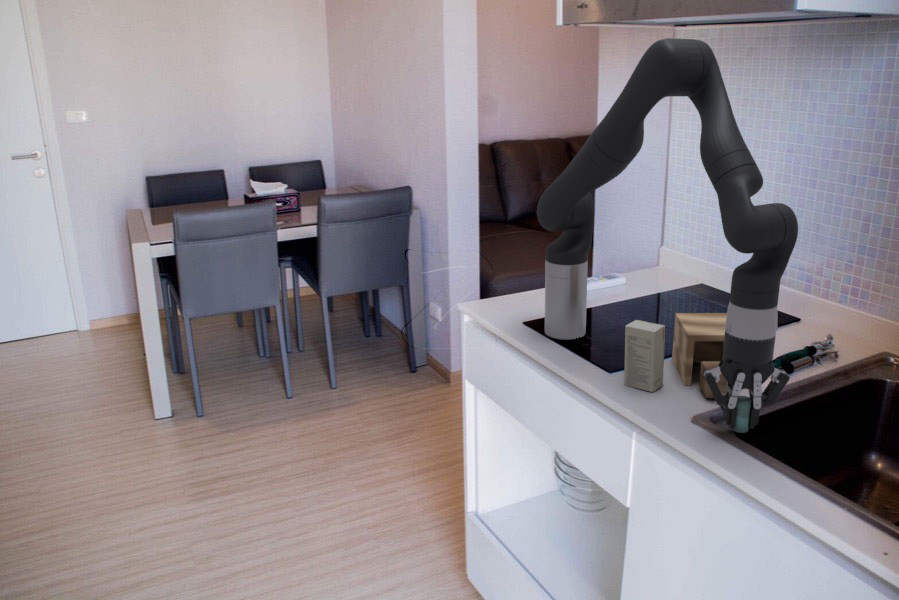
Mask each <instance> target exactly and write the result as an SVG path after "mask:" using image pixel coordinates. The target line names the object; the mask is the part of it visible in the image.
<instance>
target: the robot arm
mask: <svg viewBox="0 0 899 600" xmlns="http://www.w3.org/2000/svg"><path fill="white" fill-rule="evenodd" d="M724 82H725V81H724V79H723V77H722V72H721V69H720V66H719V63H718V61H717V58H716V55H715V53H714V51H713V49H712V47H711V46H710V45H709V44H708V43H707V42H705V41H704V40H700V39H692V38H663V39H659V40H657V41H655V42H654V43H652V44H651V45H650V46H649V47H648V48H647V49H646V50H645V52H644V53H643V55H642V56H641V58H640V60H639V61H638V63H637V65H636V66H635V68H634V70H633V71H632V74H631V75H630V77H629V79H628V81H627V82H626V84H625V86H624V88H623V89H622V91H621V92H620V94H619V96H618V97H617V98H616V100H615V102H614V103H613V104H612V106H611V107H610V109H609V110H608V111H607V113H606V114H605V115H604V117H603V118H602V120H601V121H600V122H599V123H598V125H597V126H596V127H595V129H594V130H593V131H592V133H591V134H590V135H589V136H588V138H587V139H586V141H585V143H584V144H583V145H582V147H581V148H580V150H579V151H578V152H577V153H576V155H575V156H574V157H573V159H572V160H571V161H570V163H568V165H567V166H566V168H564V170H563V171H562V173H561V174H559V176H557V178H555V180H554V181H553V182H551V184H550V185H549V186H548V187H547V188H546V189H545V190H544V191H543V193H542V194H541V195H540V197H539V200H538V203H537V208H536V216H537V221H538V222H539V224H540V226H541V227H542V228H543V229H545V230H547V231H550V232H562V233H561V234H560V236H558V237H557V239H555V240H554V241H552V242H551V243H549V244H548V245H547V246H546V248H545V253H544V254H545V257H544V258H545V260H544V261H545V262H544V263H545V264H544V266H545V267H544V275H545V276H544V277H545V278H544V281H545V282H544V334H545V335H546V336H548V337H550V338H553V339H556V340H565V341H566V340H567V341H569V340H576V338H577V339H579V337H580V338H582V337H584V336H585V335H586V333H587V332H586V331H587V330H586V327H587V306H588V305H587V302H588V301H587V299H588V267H589V265H588V263H589V252H590V251H591V248H592V243H593V229H594V218H595V205H594V204H595V203H594V199H593V198H594V197H593V196H592V192H594V191H596V190H597V189H599V188H601V187H602V186H605V185H606V184H608V183H609V182H611V181H612V180H614V179H615V178H617V177H618V176H620V174H622V173H623V172H624V170H626V169H627V168H628V166H629V165H630V164H631V163H632V161H634V159H635V158H636V157H637V156H638V154H639V152H640V151H641V149H642V146H643V145H644V144H643V143H644V139H645V119H646V117H647V116H648V114H649V113H650V112H651V111H652V109H654V107H655V106H656V105H657V104H658V103H659V102H660V101H661V100H662V99H664V98H666V97H687V98H688V99H689V100H690V101H691V102H692V104H693V105H694V107H695V109H696V110H697V112H698V114H699V118H700V122H701V123H700V124H701V129H700V130H701V131H700V140H699V153H700V160H701V162H702V165H703V168H704V170H705V173H706V174H707V176H708V178H709V181H710V183H711V184H712V187H713V189H714V191H715V192H716V195H717V199H718V207H719V212H720V217H721V226H722V230H723V234H724V238H725V239H726V241H727V242H728V244H729V245H730V246H731V248H733V249H734V251H737V252H739V253H742V254H751V257H750V258H749V259H748V260H747V261H745V262H743V263H741V264H740V265H737V266H736V267H735V268H734V270H733V272H732V277H731V283H730V284H731V285H730V294H729V303H728V306H727V311H726V313H727V316H726V326H725V336H724V346H723V357H722V360H721V361H720V363H719V366H718V367H716V368H714V369H711V370H709V369H704V370H703V375H704V377H705V379H706V381H707V384H708V386H709V388H710V390H711V392H712V394H713V397H714V398H713V399H714V400H715V401H716V404H717V405H718V406H722V405H724V406H725V408H723V409H724V410H723V411H724V412H723V421H724V423H725V425H726V426H727V427H728V428H729V429H732V428H735V419H736V408H735V406H736V402H737V399H738V397H739V396H741V395H740V394H741V391H742V390H748V395H749V396H748V397H749V398H751V400H752V401H751V409H750V418H749V427H748V430H749V429H751V430H752V429H755V426H757V425H758V424H759V420H760V418H759V417H760V412H761V408H762V407H764V406H768V407H770V406H772V405H774V403H775V401H776V400H777V399H778V397H779V395H780V394H781V393H782V391H783V389H785V387H786V386H787V384H788V383H789V381H790V379H791V378H790V376H789V374H788V373H787V372H786V371H785V370H784V369H783V368H780V369H778V368H776V367H775V365H774V362H773V359H774V353H775V343H776V338H777V337H776V335H777V331H778V320H779V319H778V315H779V313H778V304H779V295H780V288H781V279H782V277H783V275H784V273H785V271H786V268H787V267H788V263H789V262H790V259H791V256H792V254H793V251H794V248H795V245H796V243H797V241H798V240H797V239H798V235H799V222H798V218H797V216H796V214H795V213H796V212H794V210H793V209H792V208H791V207H790V206H788V205H787V204H785V203H780V202H775V203H774V202H772V203H766V204H759V205H754V204H753V202H752V200H751V198H752V197H753V196H755V195H756V194H757V193H758V192H759V191H760V190H761V189H762V188H763V184H764V178H763V176H762V175H763V174H762V173H761V169H759V166H758V164H757V163H756V160H755V158H754V157H753V155H752V153H751V151H750V149H749V148H748V146H747V143H746V142H745V139H744V137H743V135H742V134H741V131H740V129H739V126H738V123H737V121H736V118H735V115H734V112H733V109H732V105H731V102H730V99H729V95H728V92H727V88H726V86H725V83H724ZM720 374H723V376H724V377H725V379H726V380H727V385H726V393H725V395H722V394H721V392H720V390H719V388H718V385H717V382H718V381H719V380H720V378H719V376H720ZM769 378H770V379H771V380H770V381H769V383H768V384H767V385H766V387H765V389H764V390H763V389H762V385H763V384H764V383H765V382H766V381H767V380H768V379H769Z"/></svg>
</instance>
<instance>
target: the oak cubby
mask: <svg viewBox="0 0 899 600" xmlns="http://www.w3.org/2000/svg"><path fill="white" fill-rule="evenodd" d="M726 316H727V312H675V314H674V324H673V325H674V326H673V338H672V339H673V340H672V353H671V354H672V355H671V361H672V362H673V365H674V366H675V369H676V371H677V373H678V375H679V377H680V379H681V381H682V383H683V385H684V386H691V385H692V377H693V365H694V364H693V363H701V361H721V360H722V357H723V346H724V336H725V326H726Z"/></svg>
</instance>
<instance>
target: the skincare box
mask: <svg viewBox="0 0 899 600" xmlns="http://www.w3.org/2000/svg"><path fill="white" fill-rule="evenodd" d="M624 336H625V338H624V370H623V371H624V372H623V374H624V376H623V377H624V378H623V379H624V381H623V383H624V385H625V386H629V387H632V388H636V389H639V390H642V391H647V392H650V393H654V392H655V391H657V390H658V389H659V388H661V387H662V386H663V385H664V369H665V368H664V367H665V366H664V362H665V342H666V341H665V339H666V325H663V324H661V323H660V324H658V323H655V322H650V321H649V322H648V321H644V320H640V319H635V320H633V321H631V322H629V323H627V324H625V327H624Z"/></svg>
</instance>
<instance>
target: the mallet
mask: <svg viewBox="0 0 899 600" xmlns="http://www.w3.org/2000/svg"><path fill="white" fill-rule="evenodd" d="M719 363H720V361H701V362H700V369H699V370H700V372H699V374H700V375H699V385H698V387H699V388H700V390H701V391H702V393H703V395H704V397H705V398H706V399H715V398H714V397H713V394H712V392H711V390H710V388H709V386H708V384H707V381H706V379H705V377H704V375H703V370H704V369H709V370H711V369H714V368H716V367H718V366H719ZM719 378H720V380H719V381H718V382H717V385H718V388H719V390H720V392H721V394H722V395H725V393H726V385H727V380H726V379H725V377H724V376H723V374H720V376H719ZM751 401H752V400H751V398H749V396H746V395H740V396H739V397H738V399H737V402H736V406H735V408H736V419H735V428H731V430H732V431H734V432H736V433H740V434H741V433H742V434H744V433H747V432H749V428H748V427H749V418H750V409H751ZM721 406H722V408H723V409H724V408H725V406H724V405H721Z"/></svg>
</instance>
